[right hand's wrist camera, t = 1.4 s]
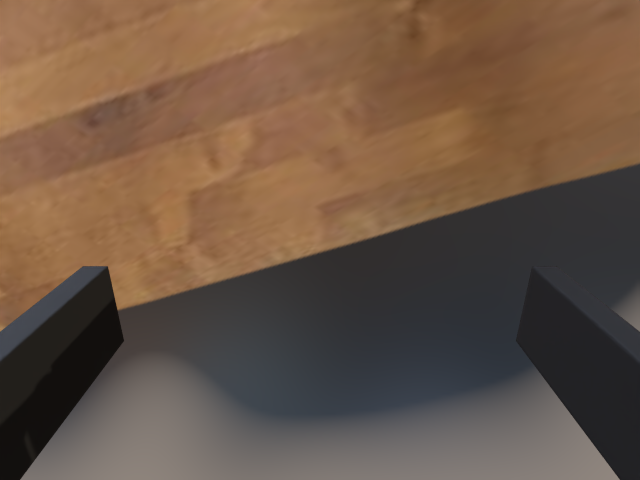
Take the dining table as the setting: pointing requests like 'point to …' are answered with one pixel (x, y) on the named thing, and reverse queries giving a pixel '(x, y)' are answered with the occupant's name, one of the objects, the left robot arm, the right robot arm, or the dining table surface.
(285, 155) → the dining table surface
